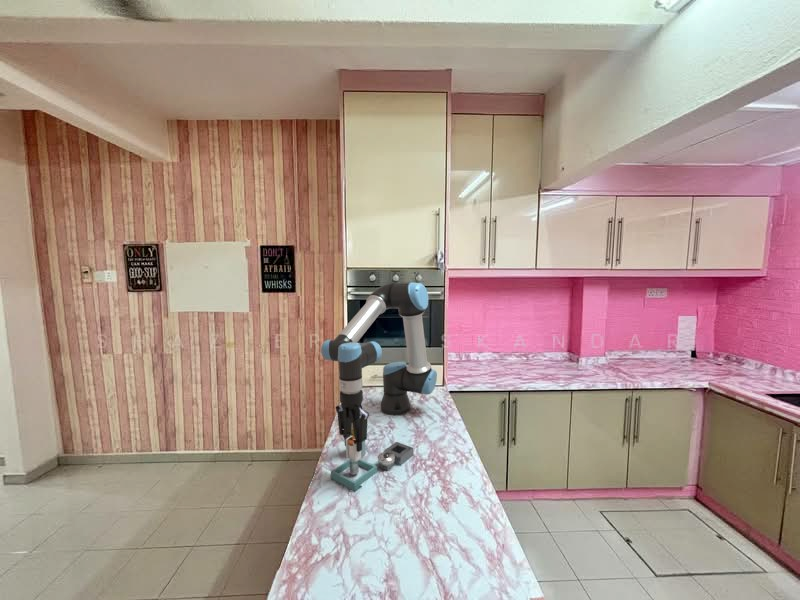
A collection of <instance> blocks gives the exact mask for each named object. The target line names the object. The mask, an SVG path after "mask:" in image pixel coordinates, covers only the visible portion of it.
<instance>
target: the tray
mask: <svg viewBox="0 0 800 600" xmlns="http://www.w3.org/2000/svg"><path fill="white" fill-rule="evenodd" d="M358 466H359V467H361V468H363V469H364V470H367V471H366V472H365V473H363V474H362V475H360V476H359V477H358V478H356V479H355V480H353V479H351V478H349V477H347V476H345V475H343V474H341V473H343V472H344V471H346V470H347V469H348V468H350V466H349V459H348V460H346V461H345V462H343V463H342V464H340V465H339V466H336V467H335V468H334V469H332V470H331V471H330V479H331V481H333V482H334V483H336V484H339V485H340V486H343V487H344V488H346V489H348V490H350V491H351V492H354V493H356V492H357V491H358V490H360V489H361V488H362V487H363V486H362V484H364V483H365V482H366V481H368V480H369V479H371V477H373V476H375V475H376V474H377V473H378V466H377V465H374V464H372V463H370V462H368V461H366V460H363V459H362V458H360V459H359V460H358Z"/></svg>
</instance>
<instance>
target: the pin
mask: <svg viewBox="0 0 800 600" xmlns="http://www.w3.org/2000/svg"><path fill="white" fill-rule="evenodd" d="M348 441H349V458H348V460H349V466H350V467H349V474H351V475H357V474H359V472H360V469H359V467H360V466H358V461H356V462H355V461H354V446H353V442H354V441H355V437H350V438H349V439H348Z"/></svg>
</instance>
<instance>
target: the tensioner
mask: <svg viewBox="0 0 800 600" xmlns="http://www.w3.org/2000/svg"><path fill="white" fill-rule="evenodd" d="M413 456H414V447H412V446H409V445H407V444H405V443H401V442H398V441H395V442H394V443H392V444H391V445H390V446H388V447H387V448H386V449H383V452H381V453H379V454H378V455H377V462H378V468H381V469H383V470H385V471H386V472H388V471H390V470H391V469H392V468H393V467H395V466H396V465H398V466H400V467H401V466H403V464H405V463H406V462H408V460H410V459H411V458H412V457H413Z"/></svg>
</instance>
